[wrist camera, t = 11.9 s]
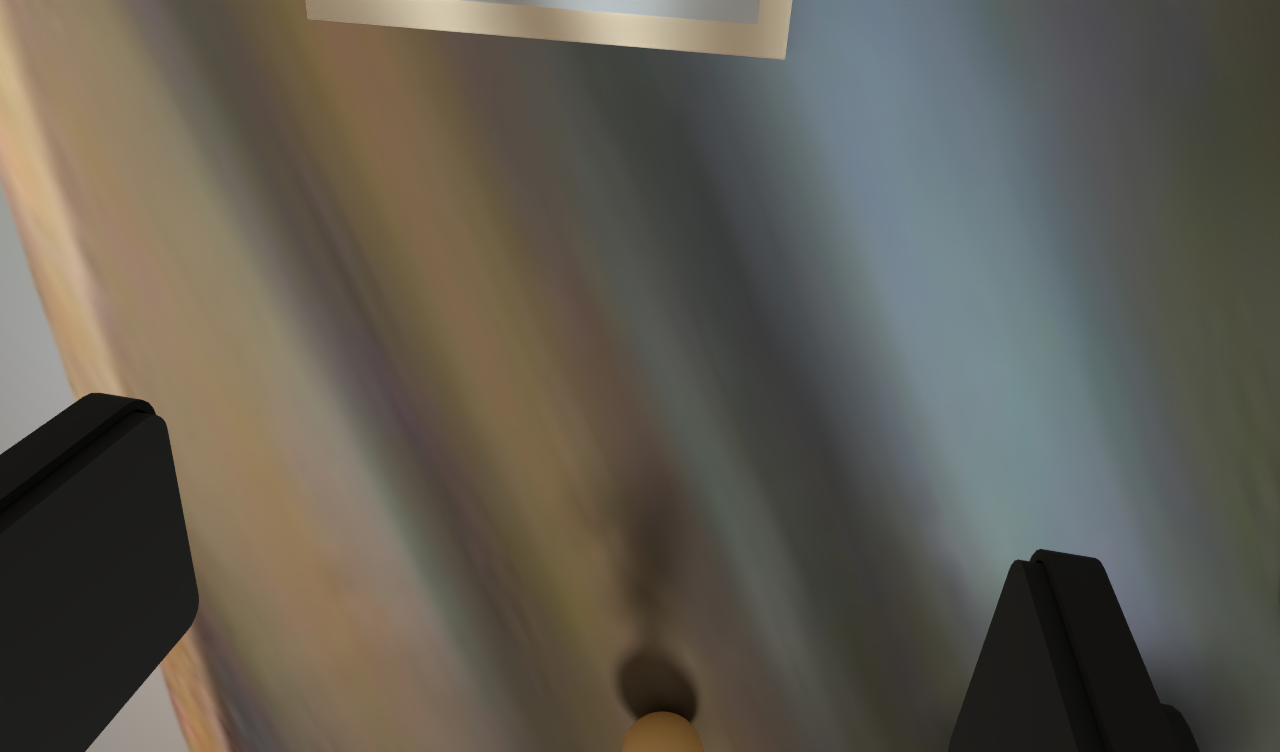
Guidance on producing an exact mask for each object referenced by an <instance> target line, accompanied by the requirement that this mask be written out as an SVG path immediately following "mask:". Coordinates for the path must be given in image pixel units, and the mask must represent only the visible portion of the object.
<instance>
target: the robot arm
mask: <svg viewBox="0 0 1280 752" xmlns="http://www.w3.org/2000/svg"><path fill="white" fill-rule="evenodd" d="M198 604H199V594H198V589H197V584H196V578H195V573H194V568H193V562H192V557H191V552H190V546H189V541H188V536H187V530H186V525H185V520H184V514H183V509H182V504H181V498H180V493H179V488H178V482H177V477H176V472H175V466H174V461H173V456H172V450H171V445H170V440H169V434H168V429H167V426H166V423H165V421H164V420H163V419H162V417H159V416H157V415H156V413H155V411H154V409H153V407H152V406H151V405H150V404H149V403H148V402H146V401H144V400H140V399H134V398H128V397H122V396H116V395H110V394H104V393H91V394H88V395H86V396H84V397H82V398H81V399H79V400H78V401H77V402H75V403H74V404H72V405H71V406H69V407H68V408H67V409H66V410H64V411H62V412H61V413H59V414H58V415H57V416H55V417H54V418H52V419H51V420H49V421H48V422H47V423H46V424H44V425H42V426H41V427H39V428H38V429H36V430H35V431H34V432H32V433H31V434H30V435H28V436H27V437H25V438H24V439H22V440H21V441H19V442H18V443H17V444H15V445H14V446H12V447H11V448H9V449H8V450H6V451H5V452H4V453H2V454H1V455H0V752H85V751H86V750H87V749H88V748H89V746H90V745H91V744H92V743H93V742H94V740H95V739H96V738H97V737H98V736H99V734H100V733H101V732H102V731H103V730H104V729H105V727H106V726H107V725H108V724H109V723H110V722H111V720H112V719H113V718H114V717H115V716H116V714H117V713H118V712H119V711H120V710H121V709H122V707H123V706H124V705H125V703H127V701H128V700H129V699H130V698H131V697H132V696H133V694H134V693H135V692H136V691H137V690H138V688H139V687H140V686H141V685H142V684H143V682H144V681H145V680H146V679H147V678H148V677H149V675H150V674H151V673H152V672H153V671H154V670H155V668H156V667H157V666H158V665H159V664H160V662H161V661H162V660H163V659H164V658H165V657H166V655H167V654H168V653H169V652H170V651H171V649H172V648H173V647H174V646H175V645H176V644H177V642H178V641H179V640H180V639H181V638H182V636H183V635H184V634H185V633H186V632H187V631H188V629H189V628H190V626H191V625H192V623H193V621H194V619H195V617H196V613H197V610H198ZM948 752H1200V751H1199V748H1198V746H1197V744H1196V742H1195V739H1194V737H1193V735H1192V732H1191V730H1190V728H1189V726H1188V724H1187V723H1186V721H1185V719H1184V718H1183V716H1182V714H1181V713H1180V712H1179V711H1178V710H1176V709H1175V708H1174V707H1173V706H1171V705H1166V704H1161V703H1160V701H1159V699H1158V696H1157V694H1156V691H1155V689H1154V687H1153V684H1152V682H1151V679H1150V677H1149V675H1148V672H1147V670H1146V667H1145V665H1144V663H1143V660H1142V658H1141V655H1140V653H1139V650H1138V648H1137V646H1136V643H1135V641H1134V638H1133V636H1132V634H1131V631H1130V629H1129V626H1128V624H1127V622H1126V619H1125V617H1124V614H1123V612H1122V610H1121V607H1120V605H1119V602H1118V600H1117V597H1116V595H1115V593H1114V590H1113V588H1112V585H1111V583H1110V581H1109V578H1108V576H1107V573H1106V571H1105V569H1104V567H1103V565H1102V563H1101V562H1100V561H1099V560H1098V559H1096V558H1092V557H1086V556H1080V555H1074V554H1068V553H1062V552H1056V551H1050V550H1044V549H1039V550H1037V551H1036V552H1035V553H1034V554H1033V555H1032V557H1031V559H1030V561H1023V560H1015V561H1014V562H1013V564H1012V565H1011V567H1010V570H1009V572H1008V575H1007V578H1006V581H1005V584H1004V587H1003V589H1002V592H1001V595H1000V598H999V601H998V604H997V607H996V610H995V613H994V615H993V618H992V621H991V624H990V627H989V630H988V633H987V636H986V639H985V641H984V644H983V647H982V650H981V653H980V656H979V659H978V662H977V665H976V667H975V670H974V673H973V676H972V679H971V682H970V685H969V688H968V690H967V693H966V696H965V699H964V702H963V705H962V708H961V711H960V714H959V716H958V719H957V722H956V725H955V728H954V731H953V734H952V737H951V740H950V744H949V750H948Z"/></svg>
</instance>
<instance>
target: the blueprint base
mask: <svg viewBox="0 0 1280 752" xmlns="http://www.w3.org/2000/svg"><path fill="white" fill-rule="evenodd" d="M791 7H792V0H306V10H307V19H313V20H325V21H336V22H348V23H360V24H372V25H384V26H396V27H407V28H419V29H431V30H443V31H455V32H467V33H478V34H490V35H502V36H514V37H526V38H538V39H549V40H561V41H573V42H585V43H597V44H609V45H620V46H632V47H644V48H656V49H668V50H680V51H691V52H703V53H715V54H727V55H739V56H751V57H762V58H774V59H785V55H786V47H787V39H788V31H789V23H790V15H791Z"/></svg>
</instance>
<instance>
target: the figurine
mask: <svg viewBox="0 0 1280 752" xmlns="http://www.w3.org/2000/svg"><path fill="white" fill-rule="evenodd" d="M622 752H703V746H702V742H701V739H700V737H699V734H698V733H697V731H696V729H695V728H694V727H693V726H692V724H691V723H690V722H689V721H687V720H686V719H685V718H683V717H682V716H680V715H678V714H675V713H672V712H665V711H659V712H653V713H650V714H647V715H645V716H643V717H642V718H640V719H639V720H638V721H636V722H635V723H634V724H633V726H632V727H631V728H630V730H629V731H628V733H627V735H626V737H625V740H624V743H623V748H622Z"/></svg>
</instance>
